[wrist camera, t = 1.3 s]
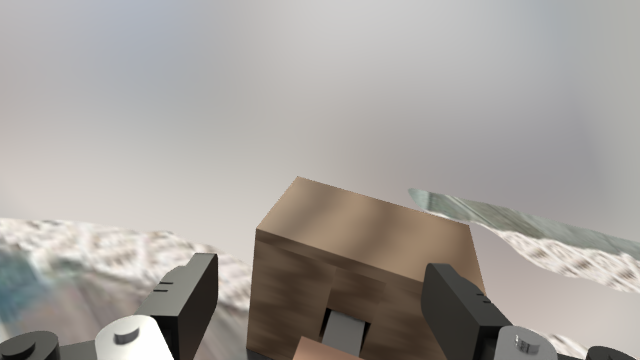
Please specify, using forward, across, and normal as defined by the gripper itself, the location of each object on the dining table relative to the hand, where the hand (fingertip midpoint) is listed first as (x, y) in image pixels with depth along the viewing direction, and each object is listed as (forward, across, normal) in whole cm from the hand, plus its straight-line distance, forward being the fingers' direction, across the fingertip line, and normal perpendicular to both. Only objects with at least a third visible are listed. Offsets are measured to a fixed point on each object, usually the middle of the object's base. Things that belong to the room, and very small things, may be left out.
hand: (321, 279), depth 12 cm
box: (+19, -4, +19) cm, 28 cm away
